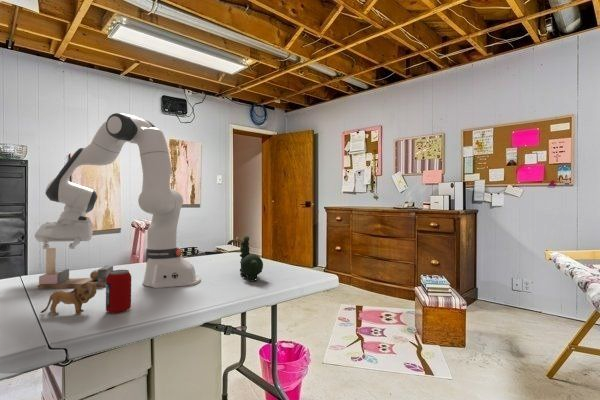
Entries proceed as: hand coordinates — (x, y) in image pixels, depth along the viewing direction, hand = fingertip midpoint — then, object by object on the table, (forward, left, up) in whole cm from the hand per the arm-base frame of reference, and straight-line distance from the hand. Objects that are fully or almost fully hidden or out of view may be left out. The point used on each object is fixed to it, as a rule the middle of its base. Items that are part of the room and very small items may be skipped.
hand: (58, 248), depth 135 cm
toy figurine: (-77, +5, -14) cm, 78 cm away
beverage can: (-35, +43, -14) cm, 57 cm away
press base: (-10, +6, -14) cm, 18 cm away
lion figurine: (-22, +42, -14) cm, 49 cm away
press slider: (-2, +6, -12) cm, 14 cm away
